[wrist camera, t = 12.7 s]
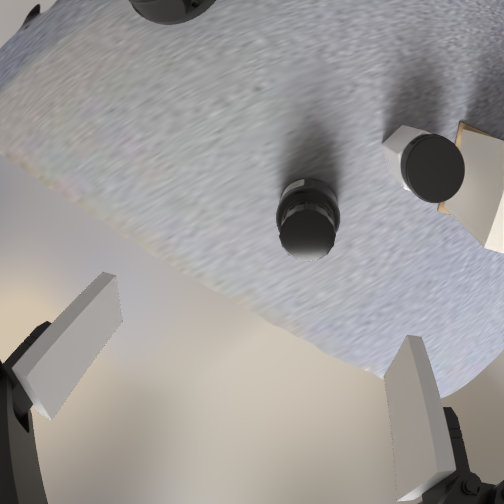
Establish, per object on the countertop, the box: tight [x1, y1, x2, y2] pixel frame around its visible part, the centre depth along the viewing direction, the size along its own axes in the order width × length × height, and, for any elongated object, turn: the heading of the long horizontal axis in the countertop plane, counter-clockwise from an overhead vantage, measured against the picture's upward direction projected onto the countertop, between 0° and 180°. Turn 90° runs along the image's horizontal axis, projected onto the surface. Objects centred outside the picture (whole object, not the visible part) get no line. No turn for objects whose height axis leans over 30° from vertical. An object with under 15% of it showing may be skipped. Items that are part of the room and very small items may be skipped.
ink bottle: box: [276, 178, 340, 262], centre depth 43 cm, size 10×9×12 cm
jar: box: [382, 125, 465, 203], centre depth 36 cm, size 9×8×12 cm
